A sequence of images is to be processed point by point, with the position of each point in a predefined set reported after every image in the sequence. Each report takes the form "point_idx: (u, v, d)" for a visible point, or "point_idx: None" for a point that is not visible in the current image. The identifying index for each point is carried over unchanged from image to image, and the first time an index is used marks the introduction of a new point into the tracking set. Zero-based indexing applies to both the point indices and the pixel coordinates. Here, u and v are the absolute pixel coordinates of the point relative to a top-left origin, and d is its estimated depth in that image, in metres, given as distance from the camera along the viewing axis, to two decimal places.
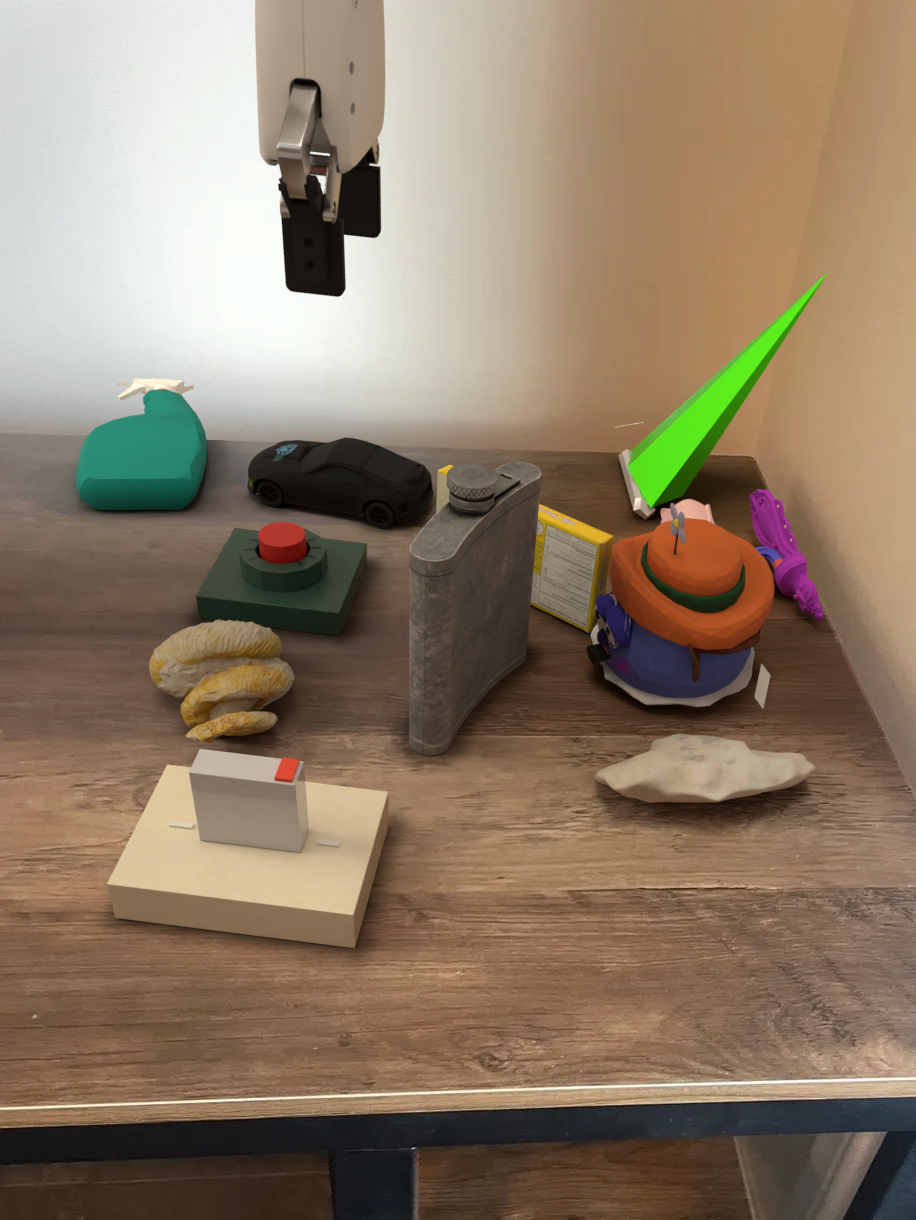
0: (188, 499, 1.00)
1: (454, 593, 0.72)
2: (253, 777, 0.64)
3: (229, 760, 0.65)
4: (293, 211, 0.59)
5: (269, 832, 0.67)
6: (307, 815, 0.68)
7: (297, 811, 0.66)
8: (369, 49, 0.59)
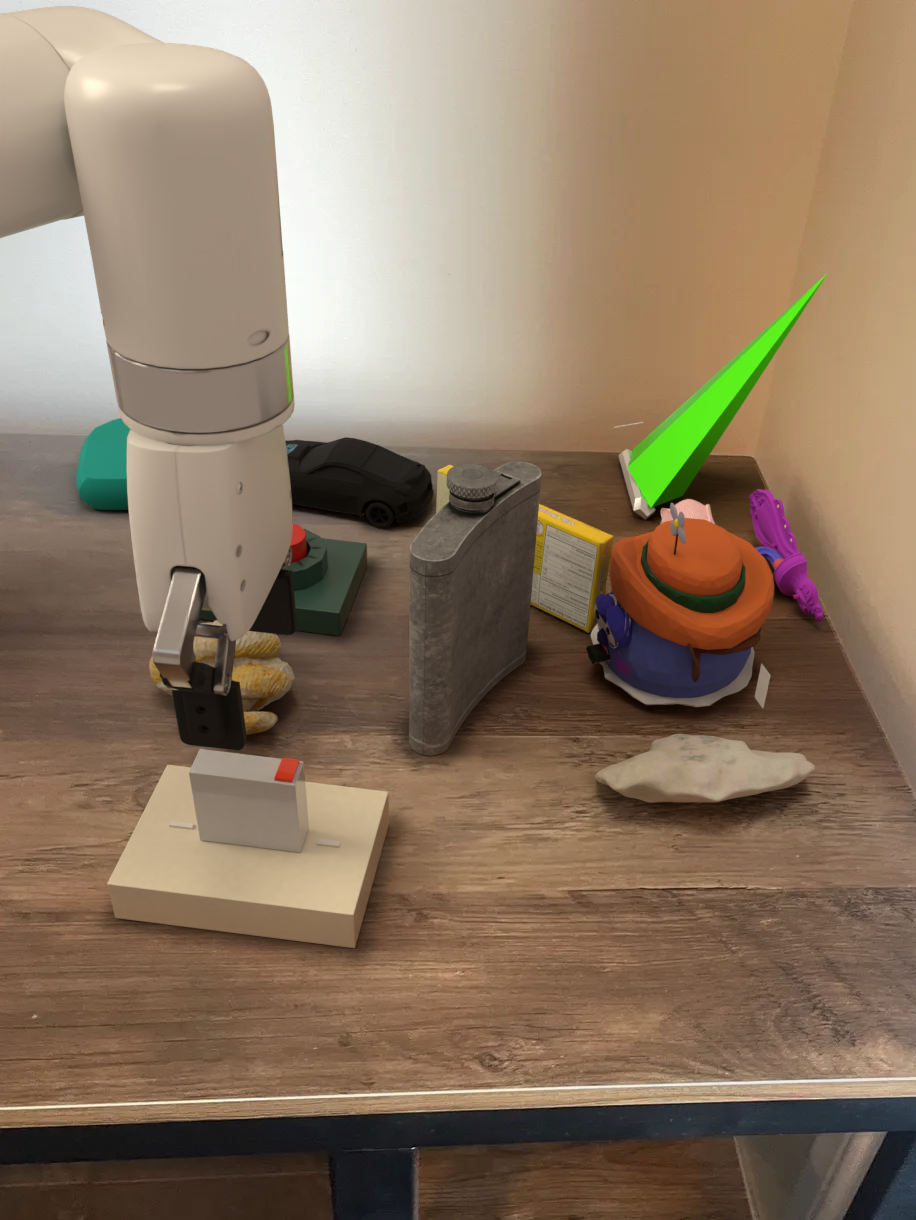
0: None
1: (454, 593, 0.72)
2: (253, 777, 0.64)
3: (229, 760, 0.65)
4: (180, 689, 0.53)
5: (269, 832, 0.67)
6: (307, 815, 0.68)
7: (297, 811, 0.66)
8: (262, 513, 0.53)
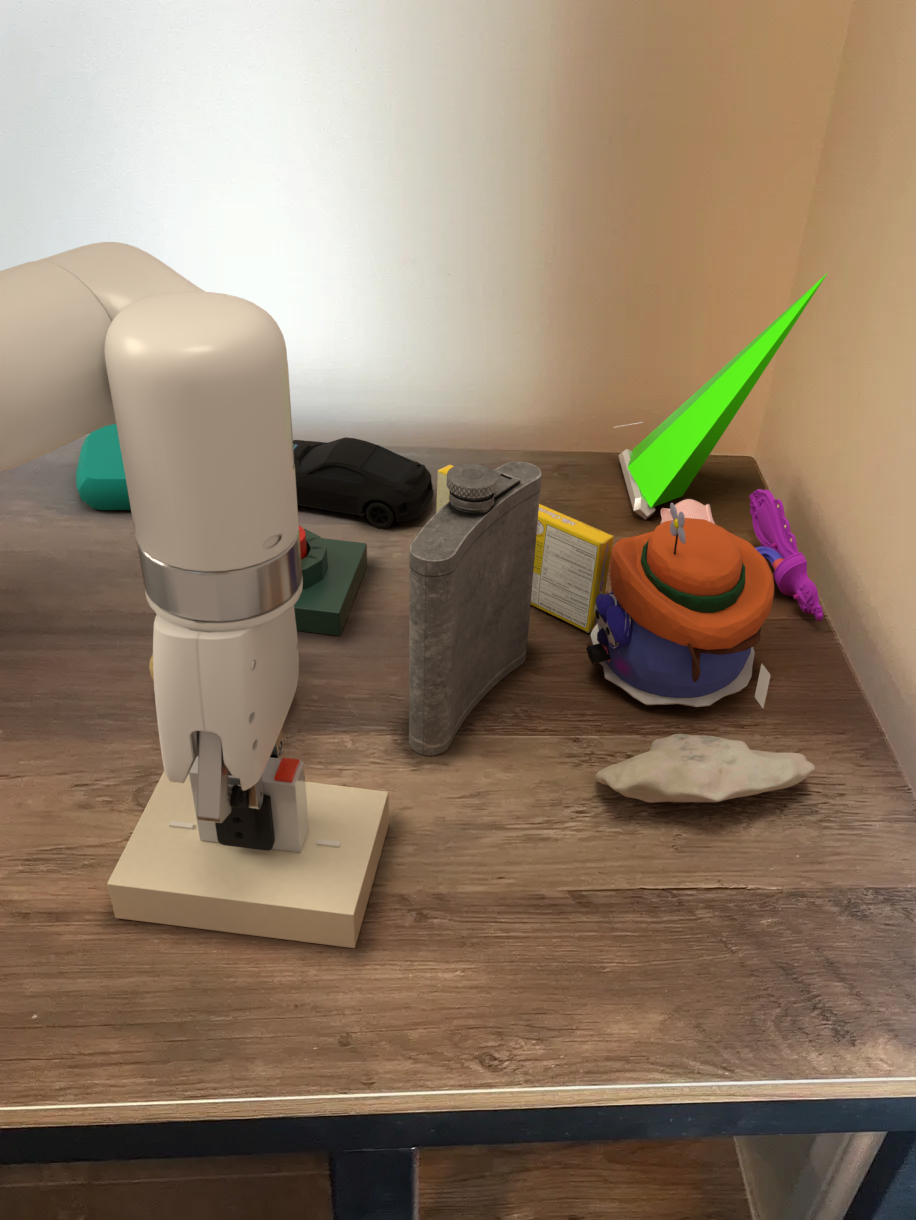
0: None
1: (454, 593, 0.72)
2: None
3: None
4: None
5: None
6: (307, 815, 0.68)
7: (297, 811, 0.66)
8: (273, 678, 0.59)
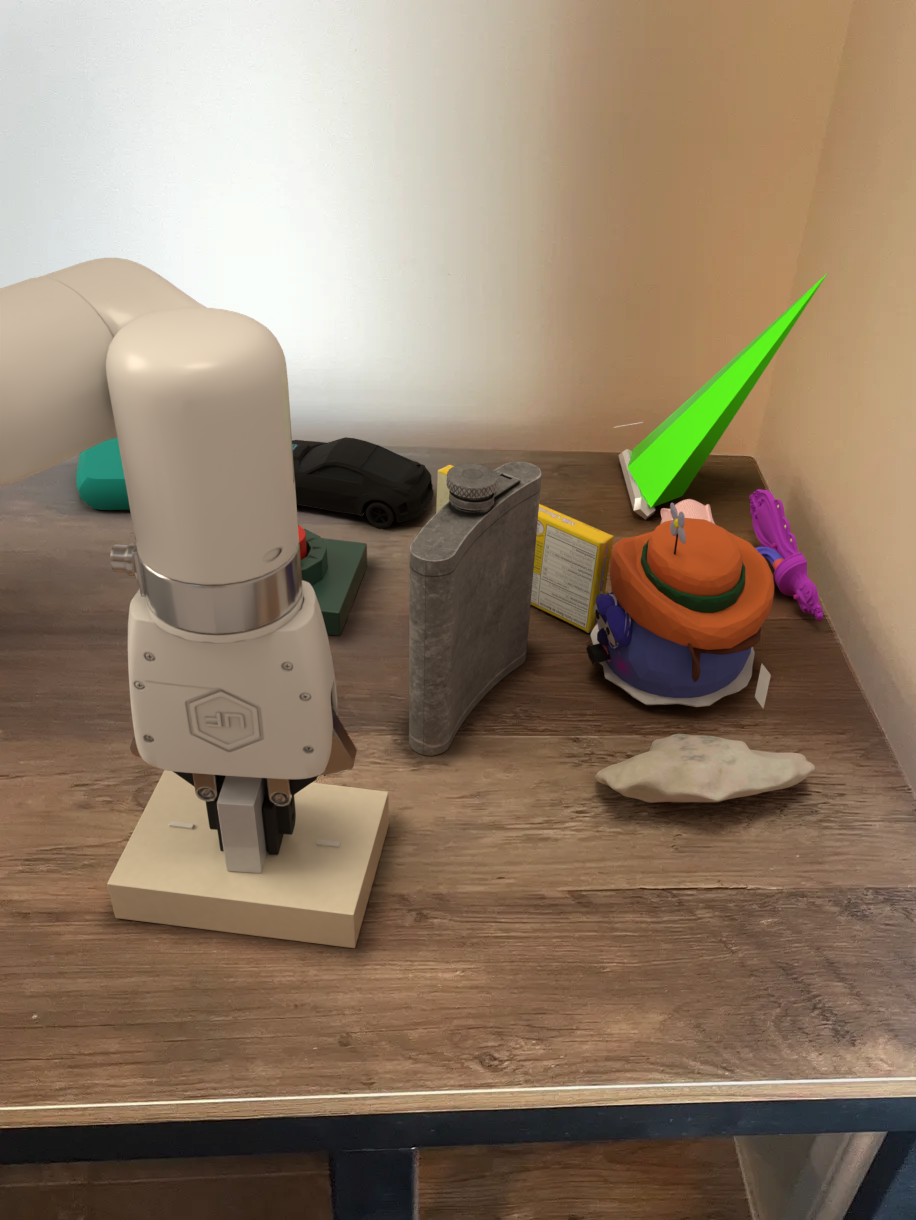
0: None
1: (454, 593, 0.72)
2: None
3: (237, 779, 0.64)
4: None
5: None
6: None
7: None
8: None
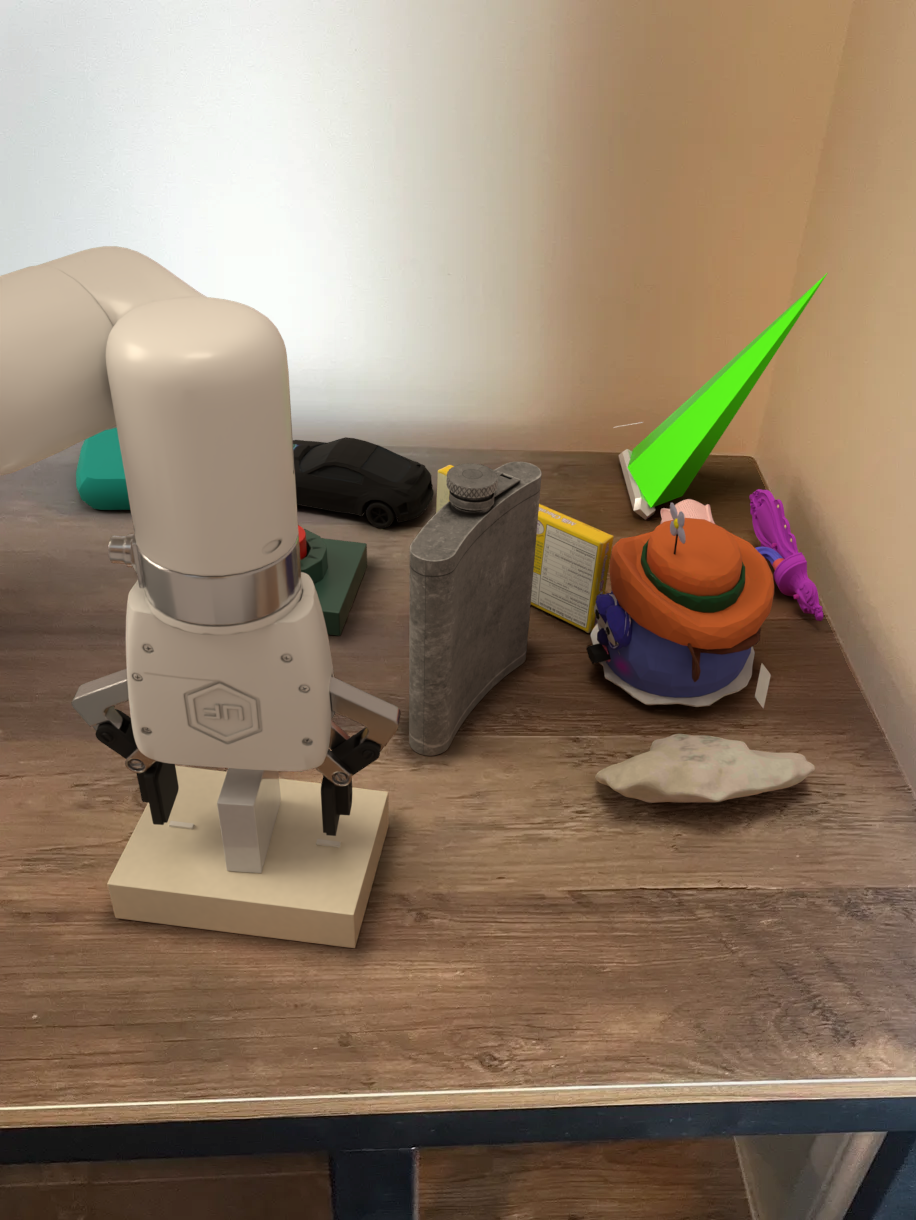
0: None
1: (454, 593, 0.72)
2: None
3: (237, 779, 0.64)
4: None
5: (274, 803, 0.69)
6: None
7: None
8: None
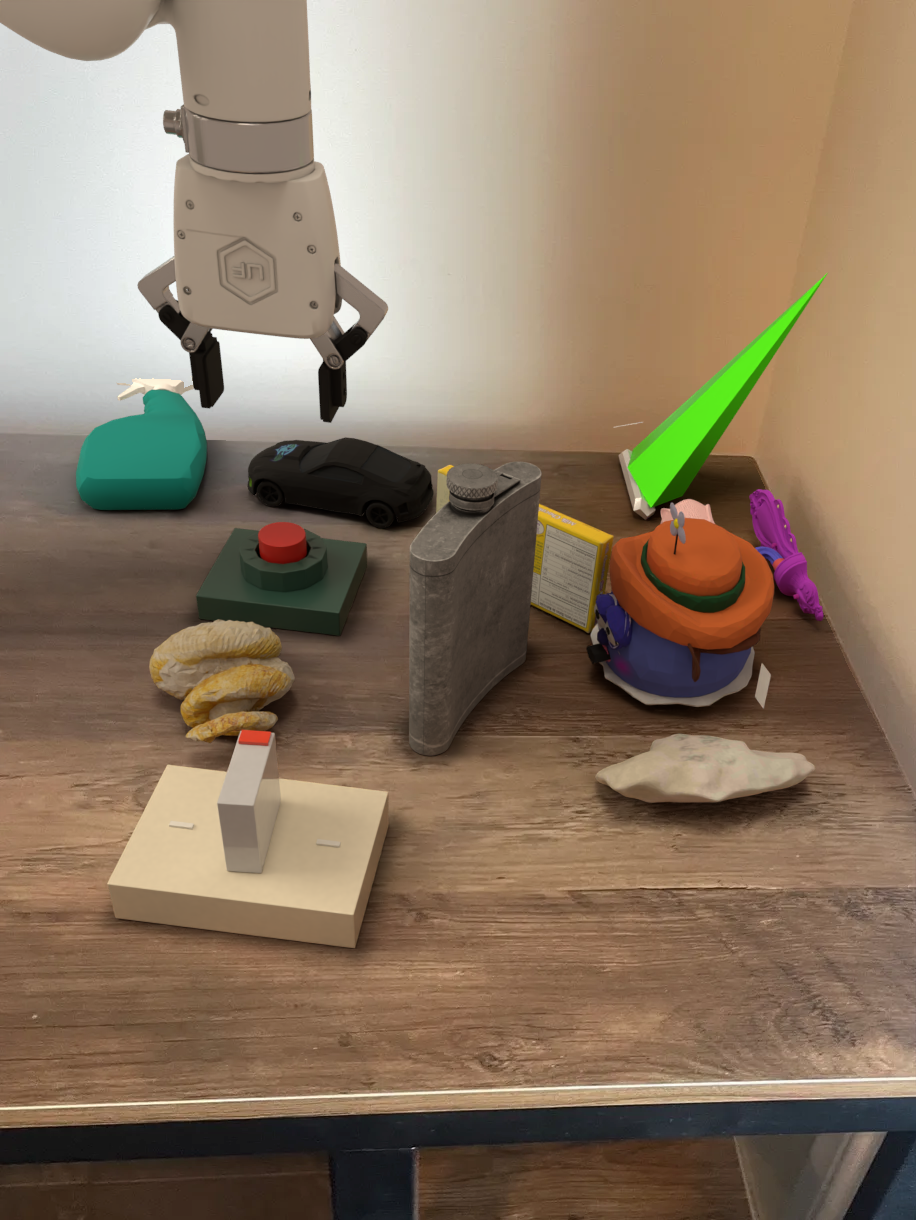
0: (188, 499, 1.00)
1: (454, 593, 0.72)
2: (262, 760, 0.66)
3: (237, 779, 0.64)
4: None
5: (274, 803, 0.69)
6: None
7: (276, 759, 0.69)
8: None
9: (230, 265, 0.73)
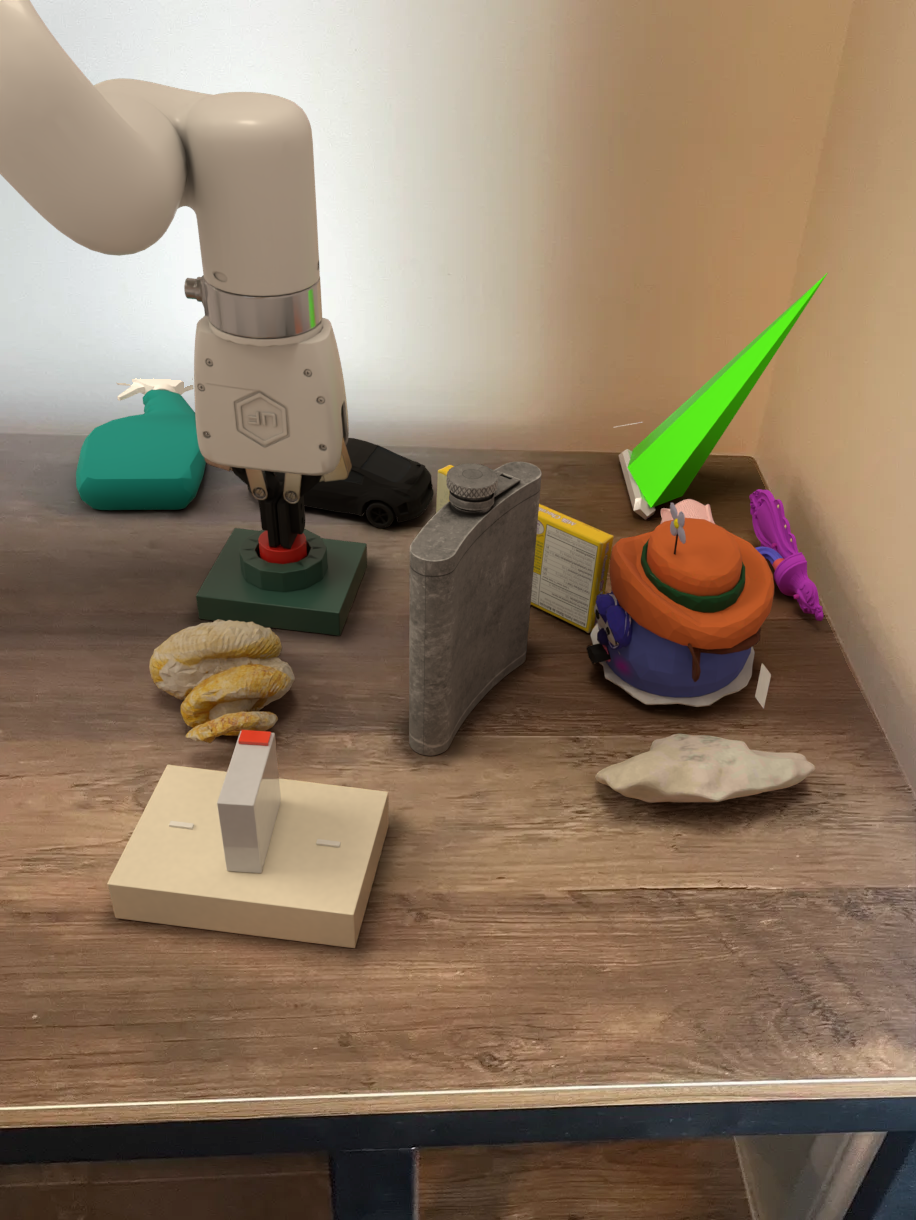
0: (188, 499, 1.00)
1: (454, 593, 0.72)
2: (262, 760, 0.66)
3: (237, 779, 0.64)
4: (306, 491, 0.86)
5: (274, 803, 0.69)
6: None
7: (276, 759, 0.69)
8: None
9: (246, 413, 0.80)
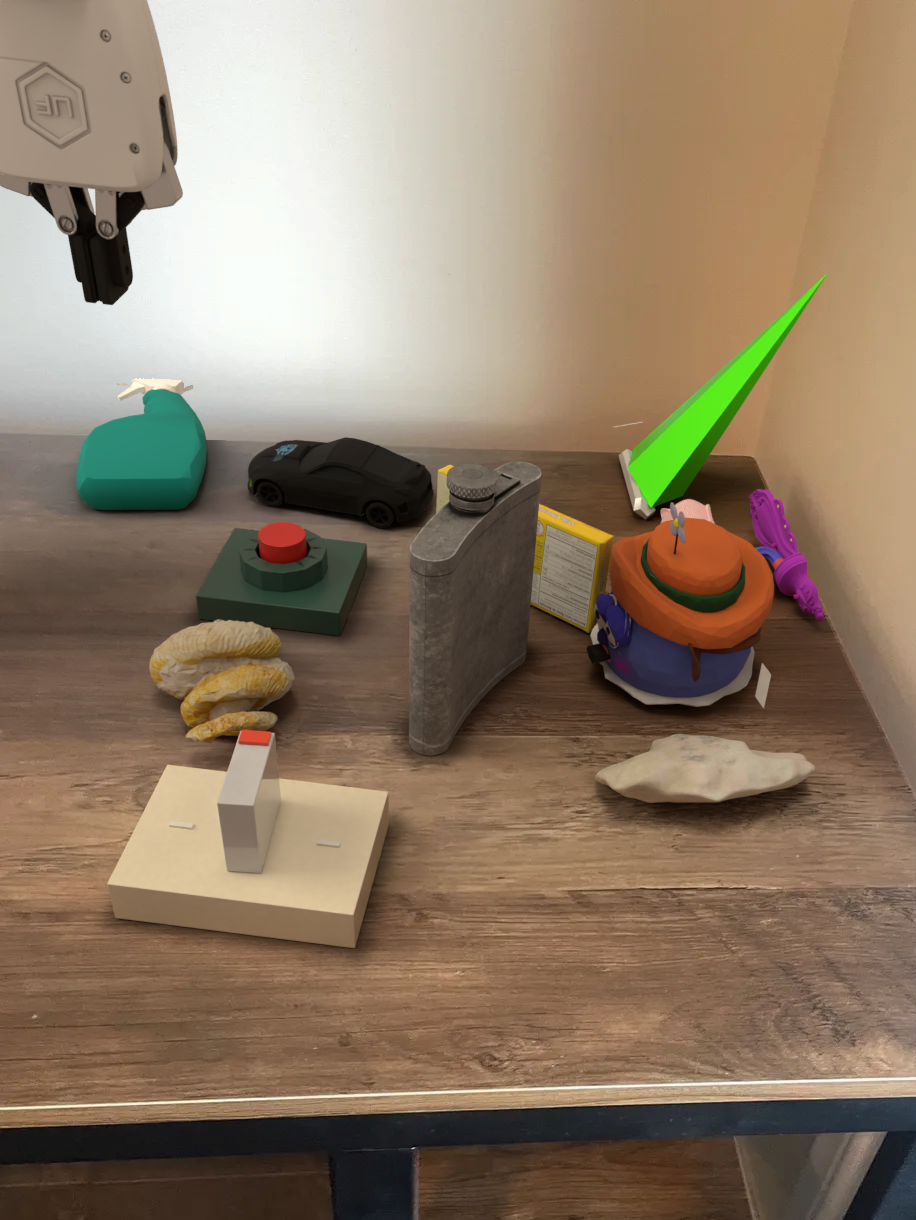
0: (188, 499, 1.00)
1: (454, 593, 0.72)
2: (262, 760, 0.66)
3: (237, 779, 0.64)
4: (126, 224, 0.69)
5: (274, 803, 0.69)
6: None
7: (276, 759, 0.69)
8: None
9: (33, 99, 0.63)
